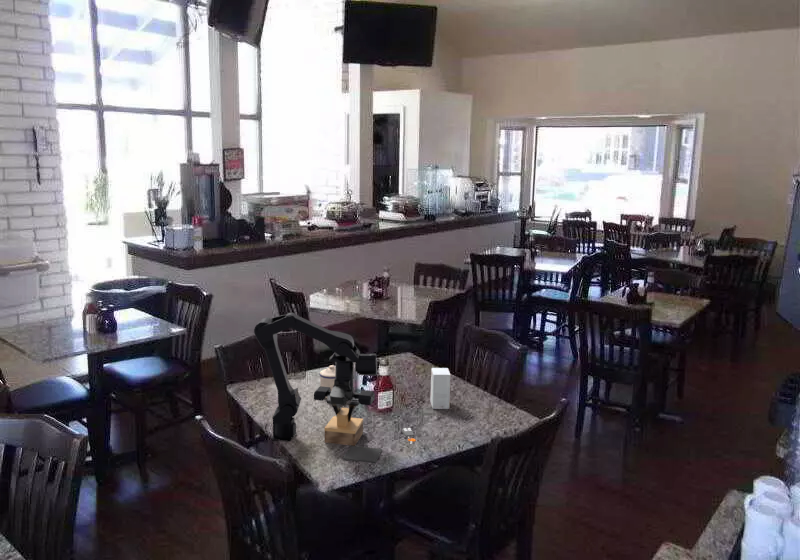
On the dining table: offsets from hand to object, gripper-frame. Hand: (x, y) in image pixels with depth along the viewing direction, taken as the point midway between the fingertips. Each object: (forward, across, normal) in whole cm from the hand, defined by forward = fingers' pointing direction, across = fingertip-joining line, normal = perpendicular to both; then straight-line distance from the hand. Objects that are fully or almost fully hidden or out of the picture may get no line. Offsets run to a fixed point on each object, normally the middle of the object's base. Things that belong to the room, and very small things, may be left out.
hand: (344, 420), depth 216 cm
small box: (+6, +26, +36) cm, 45 cm away
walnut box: (+6, 0, 0) cm, 6 cm away
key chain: (+6, +21, +5) cm, 22 cm away
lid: (+3, 0, 0) cm, 3 cm away
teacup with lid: (+6, -15, +37) cm, 40 cm away
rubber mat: (+6, +9, -10) cm, 15 cm away
